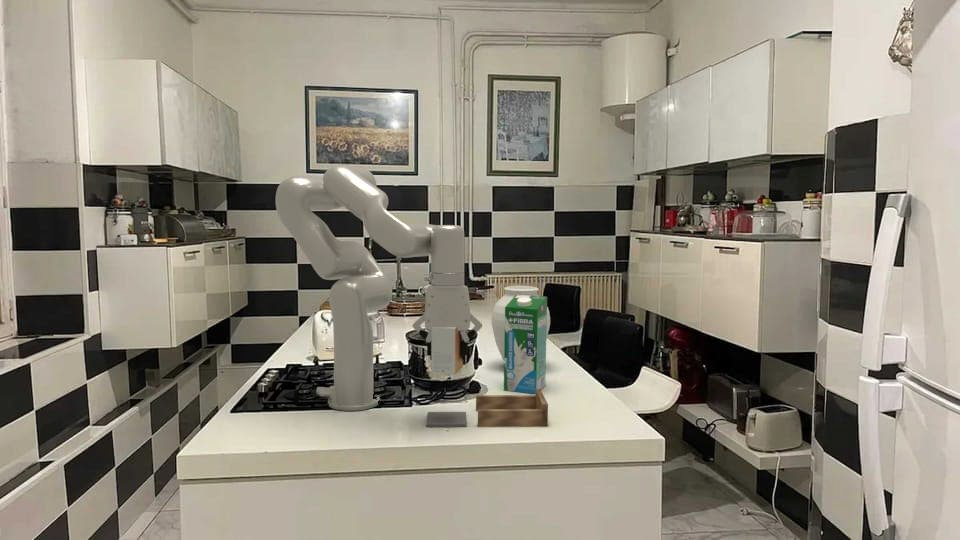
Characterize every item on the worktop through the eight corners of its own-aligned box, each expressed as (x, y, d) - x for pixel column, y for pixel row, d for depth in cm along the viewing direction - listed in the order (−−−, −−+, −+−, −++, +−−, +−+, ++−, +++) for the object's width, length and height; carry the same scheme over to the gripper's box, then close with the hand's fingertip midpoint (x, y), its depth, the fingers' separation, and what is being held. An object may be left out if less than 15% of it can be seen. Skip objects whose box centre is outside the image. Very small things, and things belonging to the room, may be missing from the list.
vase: (559, 366, 200) (560, 286, 198) (532, 378, 185) (533, 292, 183) (509, 359, 209) (510, 282, 207) (480, 370, 194) (480, 288, 192)
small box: (455, 375, 142) (455, 328, 141) (430, 374, 143) (430, 327, 142) (463, 367, 150) (463, 322, 149) (440, 365, 151) (440, 321, 150)
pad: (426, 427, 143) (426, 424, 143) (427, 414, 152) (427, 411, 152) (466, 426, 143) (466, 424, 143) (465, 414, 152) (465, 411, 152)
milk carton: (503, 390, 173) (504, 298, 170) (514, 382, 181) (515, 294, 179) (535, 394, 169) (537, 300, 167) (545, 385, 178) (547, 296, 175)
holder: (477, 426, 143) (478, 404, 143) (475, 409, 156) (476, 389, 155) (547, 426, 144) (547, 404, 144) (540, 409, 156) (540, 389, 156)
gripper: (407, 281, 140) (408, 362, 142) (486, 281, 141) (486, 362, 143) (409, 278, 148) (410, 355, 149) (485, 278, 149) (484, 354, 150)
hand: (447, 358), depth 146 cm, fingers closed on small box, 6 cm apart
